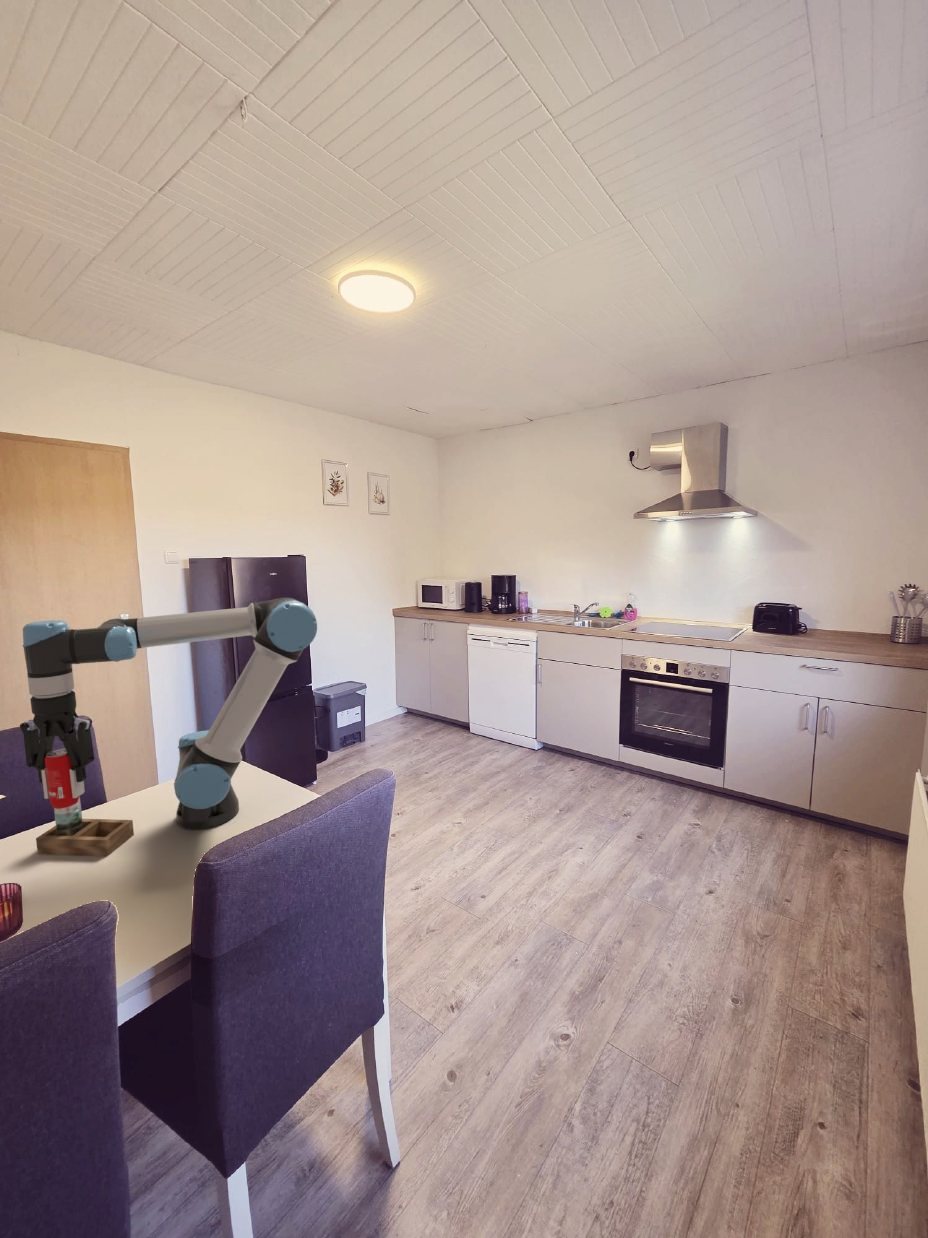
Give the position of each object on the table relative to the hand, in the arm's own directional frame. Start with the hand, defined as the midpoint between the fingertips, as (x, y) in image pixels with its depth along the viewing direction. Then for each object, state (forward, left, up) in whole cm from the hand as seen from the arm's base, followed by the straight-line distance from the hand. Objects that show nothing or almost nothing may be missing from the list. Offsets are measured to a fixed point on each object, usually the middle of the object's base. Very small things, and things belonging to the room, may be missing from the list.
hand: (64, 795), depth 112 cm
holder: (+4, -9, -18) cm, 20 cm away
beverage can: (0, 0, -2) cm, 2 cm away
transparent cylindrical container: (+8, -9, -18) cm, 22 cm away
